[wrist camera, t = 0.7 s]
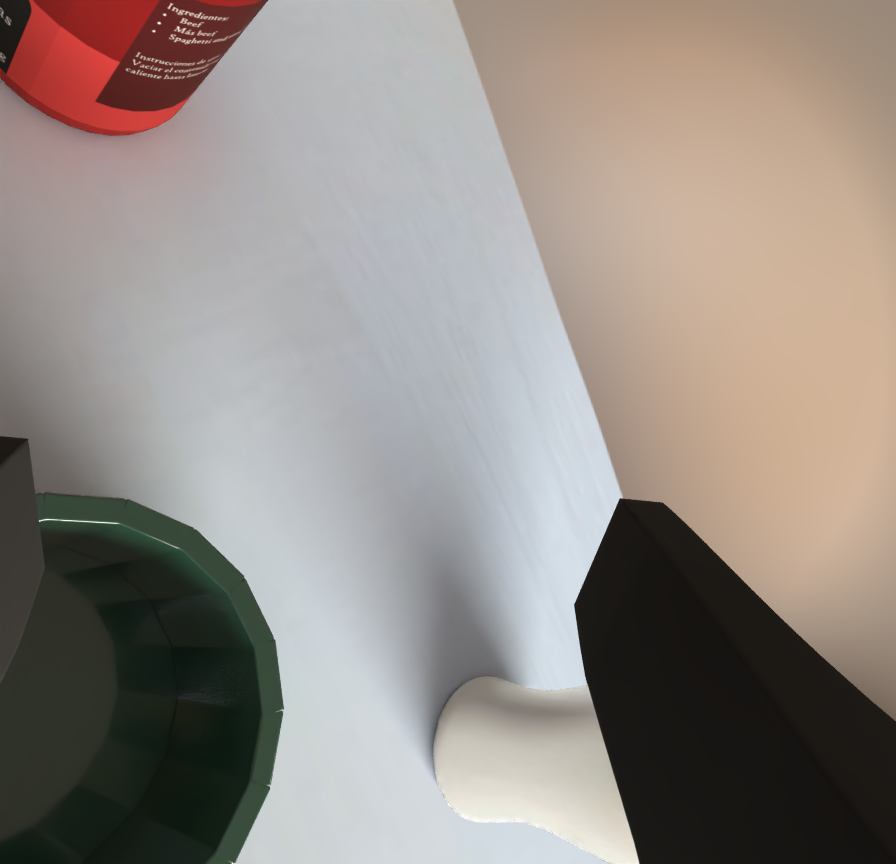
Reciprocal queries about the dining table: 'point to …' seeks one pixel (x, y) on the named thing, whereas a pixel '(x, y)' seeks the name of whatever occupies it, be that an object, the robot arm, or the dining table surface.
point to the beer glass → (532, 764)
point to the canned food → (115, 56)
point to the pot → (135, 696)
